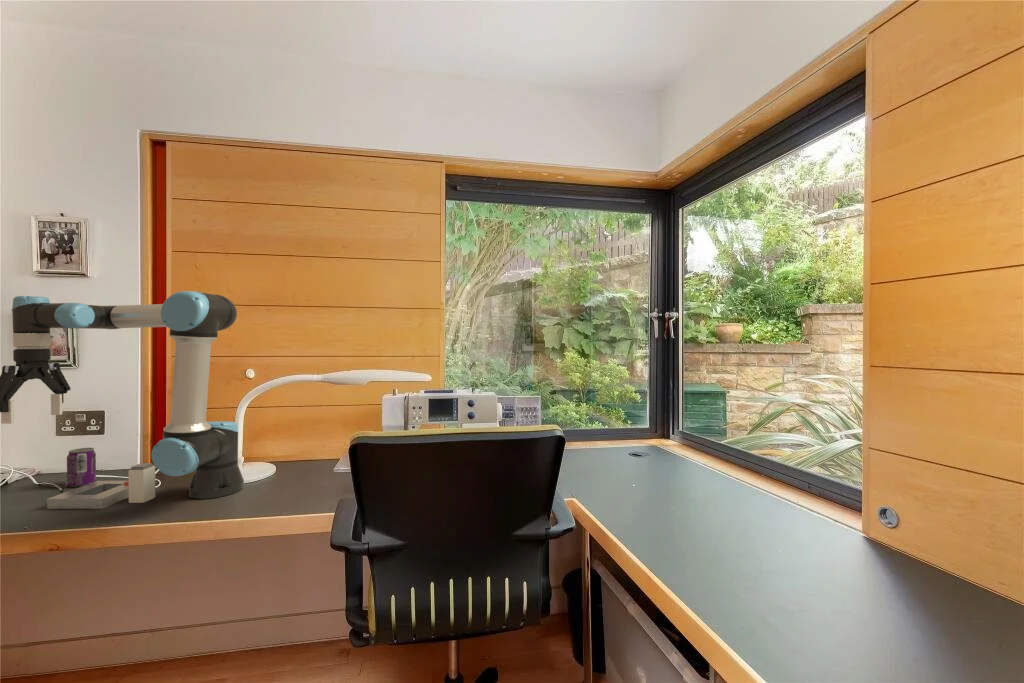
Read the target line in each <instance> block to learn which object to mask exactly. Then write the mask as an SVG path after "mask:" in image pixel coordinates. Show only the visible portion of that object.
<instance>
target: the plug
mask: <svg viewBox="0 0 1024 683" xmlns="http://www.w3.org/2000/svg"><path fill="white" fill-rule="evenodd" d="M130 467H131V468H130V469H129V470H128V481H129V497H128V504H133V503H134V504H135V503H136V504H139V503H140V504H141V503H146V502H149V501H150V500H151V501H152V500H153V499H155V498H156V467H155V465H154V463H153V462H152V463H151V462H149V463H146V462H145V463H143V462H141V463H138V464H135V465H133V466H130Z"/></svg>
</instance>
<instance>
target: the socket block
mask: <svg viewBox="0 0 1024 683" xmlns="http://www.w3.org/2000/svg"><path fill="white" fill-rule="evenodd" d="M126 499H129V480H96V481H94V482H93V483H90V484H87V485H84V486H81V487H75V488H73V489H71V490H68V491H65V492H62V493H60V494H56V495H54V496H51V497H49V498H46V509H47V510H64V509H65V510H69V509H71V510H72V509H74V510H80V509H82V510H85V509H86V510H88V509H89V510H96V509H98V510H103V509H105V508H107V507H111V506H112V505H115V504H116V503H119V502H122V501H124V500H126Z"/></svg>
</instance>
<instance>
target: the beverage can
mask: <svg viewBox="0 0 1024 683" xmlns="http://www.w3.org/2000/svg"><path fill="white" fill-rule="evenodd" d="M96 453H97V452H96V451H95V448H94V447H81V448H76V449H70V450H69V451H68V455H67V456H66V486H68V487H71V488H79V487H81V486H84V485H87V484H90V483H93V482H95V481H97V454H96Z"/></svg>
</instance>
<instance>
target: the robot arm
mask: <svg viewBox="0 0 1024 683" xmlns="http://www.w3.org/2000/svg"><path fill="white" fill-rule="evenodd" d="M11 312H12V340H13V341H12V342H13V343H12V347H14V349H13V351H12V352H13V354H12V355H13V362H15V365H3V366H2V369H1V374H0V417H1V418H0V424H3V425H5V424H7V425H8V424H15V410H14V409H15V406H14V405H15V404H14V401H15V400H12V398H13V397H14V395H15V394H16V393H17V391H18V390H20V388H21V387H22V386H23V384H25V382H27V381H29V380H35V379H36V380H40V381H41V382H42V383H43V384H44V385H45V386H46V387H47V388H48V389H49V390H50V391H51V392H52V393H51V394H50V415H51V416H61V415H63V404H64V400H65V399H64V394H67V393H68V391H71V387H70V385H69V383H68V380H67V378H65V375H64V373H63V371H62V370H61V365H60V363H59V362H49V361H51V358H52V357H51V356H52V355H51V354H52V353H51V351H52V350H51V349H50V348H49V347H51V329H71V330H73V329H97V330H99V329H100V330H101V329H102V330H120V329H135V328H136V329H137V328H138V329H141V328H142V329H143V328H168V329H169V337H170V339H172V340H173V341H174V342H175V345H174V346H175V349H174V362H173V376H172V390H171V391H172V393H171V395H172V396H171V408H170V421H169V423H168V424H167V425H165V427H163V431H162V432H163V433H162V439H160V440H159V441H158V442H157V443H156V444H154V446H153V448H152V450H151V460H152V463H153V466H155V469H158V470H159V471H160V473H161V474H164V475H166V476H170V477H180V476H185V475H188V474H191V473H194V474H193V476H192V480H191V482H190V485H189V489H188V497H189V498H191V499H199V500H200V499H202V500H204V499H205V500H206V499H215V498H221V497H225V496H229V495H232V494H235V493H238V492H240V491H241V490H243V489H244V487H245V480H244V477H243V474H242V472H241V470H240V467H239V459H238V458H239V430H238V424H237V422H235V421H230V420H229V421H227V420H225V421H224V420H221V421H220V420H218V421H213V420H212V421H207V412H208V411H207V410H208V396H209V394H208V393H209V381H210V380H209V379H210V378H209V377H210V364H211V363H210V362H211V351H212V350H211V348H212V343H213V342H215V340H217V339H218V335H219V331H223V330H227V329H229V328H230V327H232V326H233V324H234V323H235V322H236V320H237V318H238V317H237V316H238V310H237V307H236V305H235V303H234V302H233V301H231V300H230V298H228V297H225V296H224V295H220V294H212V293H206V292H201V291H194V290H192V291H190V290H189V291H188V290H181V291H177V292H175V293H173V294H171V295H170V296H168V298H166V299H165V300H164V302H163V303H158V304H156V303H155V304H127V305H123V304H122V305H121V304H120V305H95V304H86V303H82V302H81V303H80V302H60V303H59V302H57V303H55V302H53V303H51V302H50V299H49V297H46V296H34V295H32V296H31V295H18V296H15V297H14V298H13V299H12V308H11Z"/></svg>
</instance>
